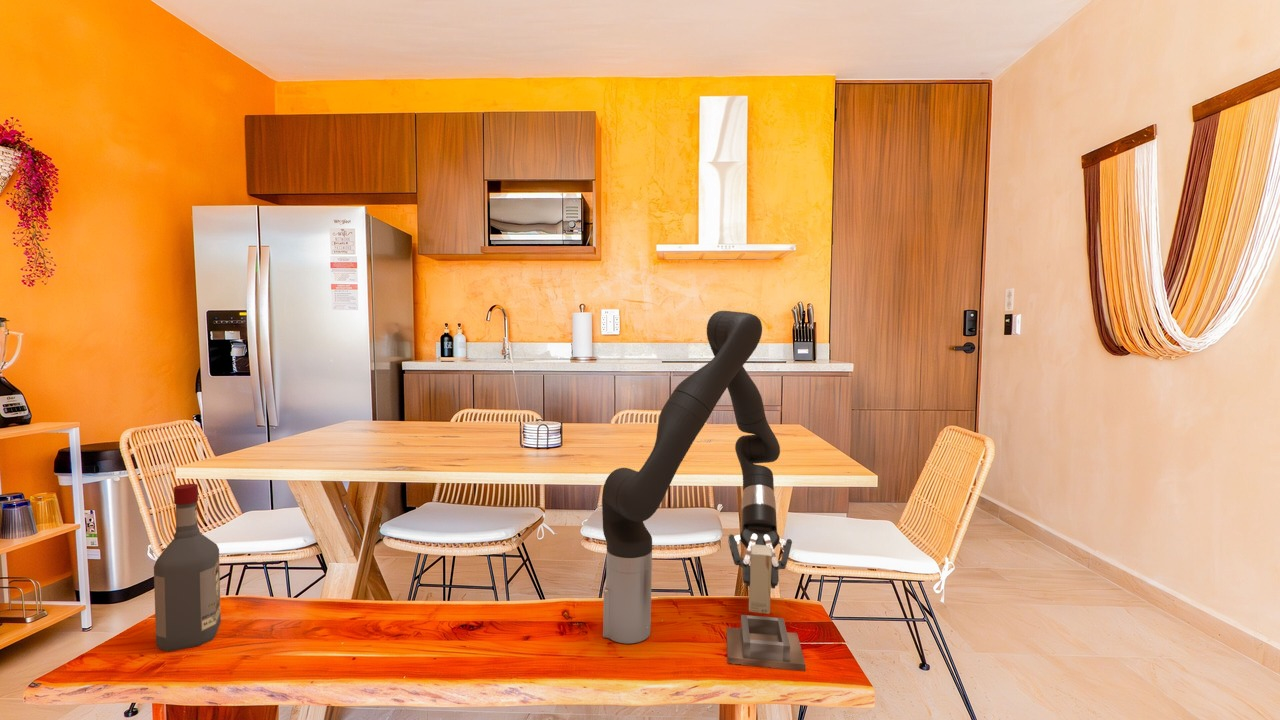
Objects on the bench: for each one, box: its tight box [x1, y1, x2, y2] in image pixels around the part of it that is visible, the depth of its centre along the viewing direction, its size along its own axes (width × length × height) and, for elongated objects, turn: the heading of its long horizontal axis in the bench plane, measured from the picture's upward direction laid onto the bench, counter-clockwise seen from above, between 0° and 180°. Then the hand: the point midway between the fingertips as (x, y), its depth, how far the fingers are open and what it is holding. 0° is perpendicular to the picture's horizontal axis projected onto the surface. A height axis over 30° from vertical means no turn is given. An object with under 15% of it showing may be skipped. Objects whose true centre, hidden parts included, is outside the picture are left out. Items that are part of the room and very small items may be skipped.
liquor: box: [153, 483, 222, 652], centre depth 112 cm, size 9×9×30 cm
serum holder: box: [726, 614, 806, 672], centre depth 112 cm, size 14×11×4 cm
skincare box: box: [748, 544, 772, 615], centre depth 121 cm, size 6×4×12 cm
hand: (760, 585), depth 119 cm, fingers closed on skincare box, 4 cm apart
